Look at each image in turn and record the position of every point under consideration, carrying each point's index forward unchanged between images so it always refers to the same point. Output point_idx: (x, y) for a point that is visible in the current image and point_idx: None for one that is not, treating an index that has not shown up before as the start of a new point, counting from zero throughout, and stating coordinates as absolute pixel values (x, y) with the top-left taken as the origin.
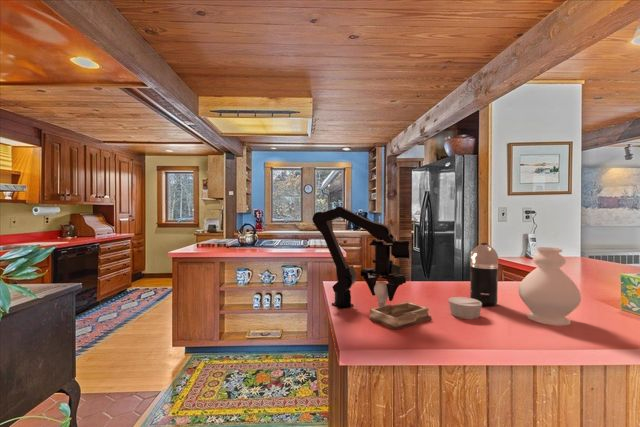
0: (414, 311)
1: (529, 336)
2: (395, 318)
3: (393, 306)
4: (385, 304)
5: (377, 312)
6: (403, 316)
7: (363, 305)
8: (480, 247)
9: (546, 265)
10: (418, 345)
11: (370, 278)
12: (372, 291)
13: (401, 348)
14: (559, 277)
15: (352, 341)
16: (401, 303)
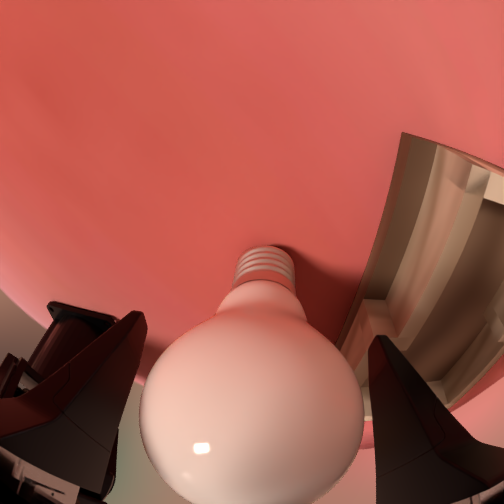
0: None
1: None
2: (448, 407)
3: (409, 344)
4: (285, 274)
5: (366, 419)
6: (473, 384)
7: (118, 274)
8: None
9: None
10: (492, 380)
11: (81, 483)
12: (136, 369)
13: (460, 405)
14: None
15: (364, 441)
16: (445, 255)
